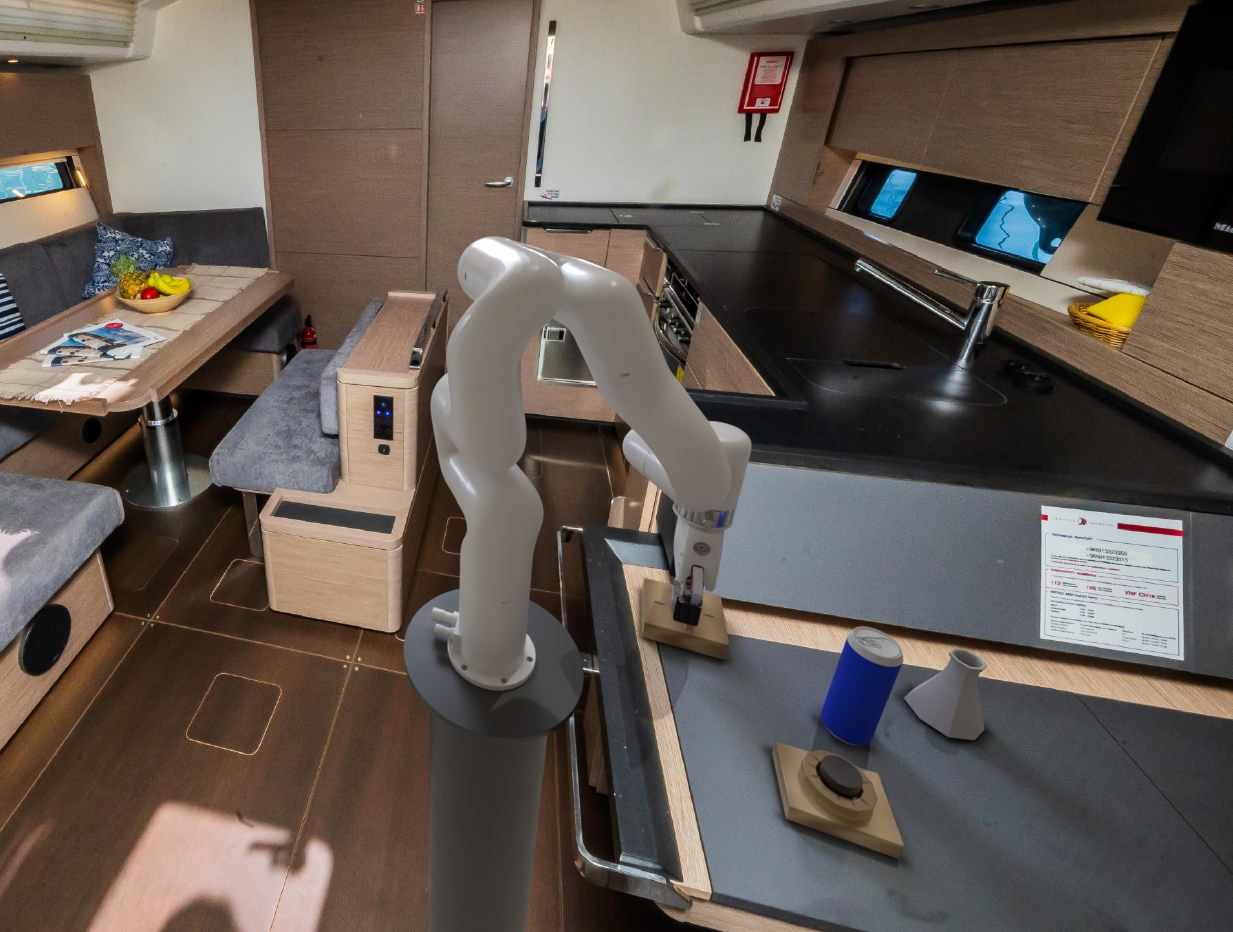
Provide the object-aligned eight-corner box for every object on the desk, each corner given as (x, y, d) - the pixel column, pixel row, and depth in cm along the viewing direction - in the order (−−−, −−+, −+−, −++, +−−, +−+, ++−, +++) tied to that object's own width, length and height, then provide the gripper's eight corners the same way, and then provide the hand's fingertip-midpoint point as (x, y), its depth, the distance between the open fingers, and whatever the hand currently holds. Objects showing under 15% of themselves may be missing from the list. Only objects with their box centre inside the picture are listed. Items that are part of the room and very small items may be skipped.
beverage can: (856, 714, 77) (889, 628, 72) (879, 753, 72) (916, 664, 67) (811, 707, 78) (840, 621, 73) (831, 744, 74) (863, 656, 68)
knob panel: (642, 637, 90) (644, 621, 89) (641, 591, 98) (644, 576, 97) (725, 660, 85) (729, 644, 84) (717, 610, 94) (721, 595, 93)
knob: (695, 623, 88) (700, 601, 86) (666, 610, 90) (670, 589, 89) (700, 606, 91) (705, 584, 89) (672, 595, 93) (676, 573, 92)
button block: (785, 819, 66) (793, 796, 65) (771, 753, 73) (778, 731, 72) (898, 859, 62) (910, 836, 61) (873, 785, 69) (882, 763, 68)
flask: (949, 747, 73) (976, 689, 69) (890, 694, 79) (913, 639, 76) (998, 736, 74) (1028, 679, 70) (936, 685, 80) (960, 630, 77)
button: (823, 790, 66) (826, 780, 65) (814, 760, 69) (818, 750, 68) (863, 804, 64) (867, 793, 64) (853, 772, 67) (857, 762, 67)
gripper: (744, 551, 75) (717, 650, 81) (726, 479, 90) (704, 568, 96) (678, 536, 78) (656, 633, 84) (671, 469, 92) (653, 556, 99)
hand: (682, 598), depth 90 cm, fingers open, 9 cm apart
